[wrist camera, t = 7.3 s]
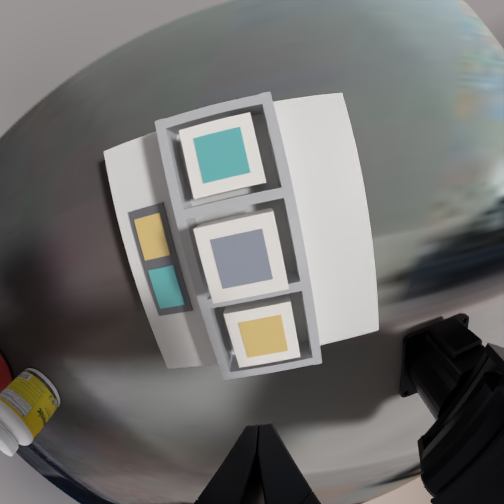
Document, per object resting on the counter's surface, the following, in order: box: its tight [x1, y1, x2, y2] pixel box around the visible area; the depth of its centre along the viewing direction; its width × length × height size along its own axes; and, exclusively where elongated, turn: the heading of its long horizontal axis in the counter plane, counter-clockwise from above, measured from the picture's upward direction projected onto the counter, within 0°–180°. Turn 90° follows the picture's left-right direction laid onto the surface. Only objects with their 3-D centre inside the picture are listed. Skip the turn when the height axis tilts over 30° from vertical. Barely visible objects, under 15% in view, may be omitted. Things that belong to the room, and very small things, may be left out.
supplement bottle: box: [0, 368, 60, 456], centre depth 17 cm, size 5×5×10 cm
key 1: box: [179, 112, 266, 199], centre depth 13 cm, size 3×3×2 cm
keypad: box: [104, 92, 379, 380], centre depth 16 cm, size 14×14×4 cm
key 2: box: [224, 294, 301, 368], centre depth 15 cm, size 3×3×2 cm
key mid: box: [193, 208, 289, 304], centre depth 13 cm, size 3×3×2 cm
